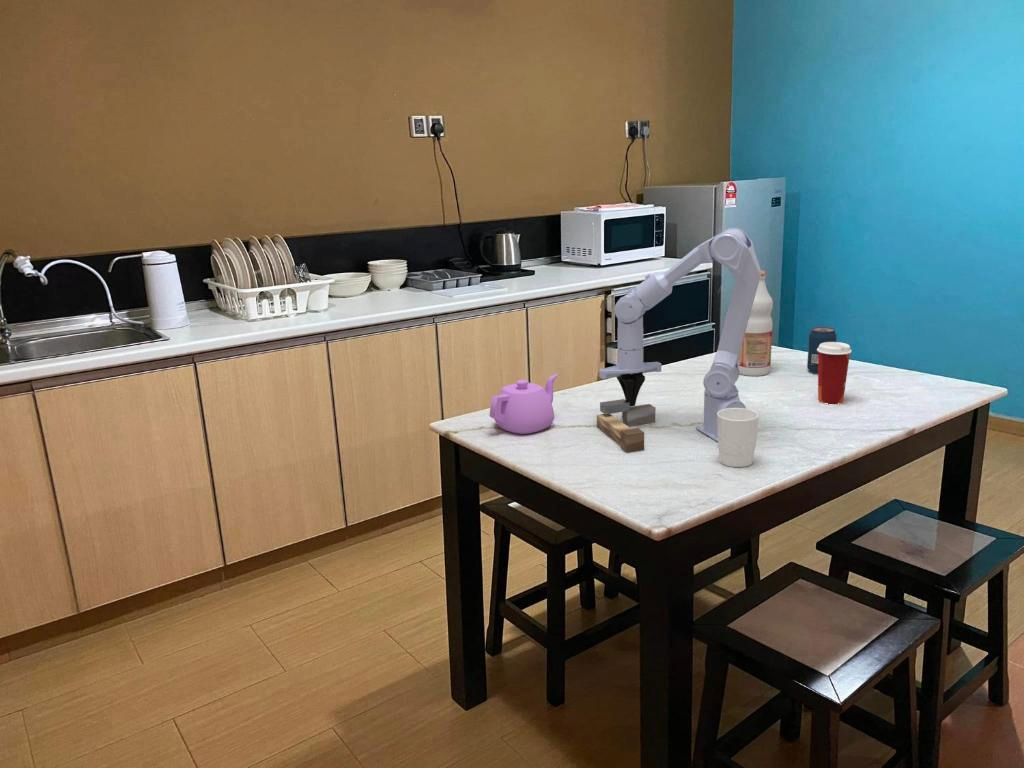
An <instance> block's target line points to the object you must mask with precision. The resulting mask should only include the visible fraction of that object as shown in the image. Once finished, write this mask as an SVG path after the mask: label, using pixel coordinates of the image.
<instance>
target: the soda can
mask: <svg viewBox="0 0 1024 768" xmlns="http://www.w3.org/2000/svg"><path fill="white" fill-rule="evenodd" d="M837 336H838V335H837V334H836V331H835V328H833V327H830V326H829V327H828V326H816V327H812V329H811V331H810V332H809V335H808V348H807V364H806V365H807V366H806V367H807V370H808V372H809V373H810V374H812V373H813V375H817V374H818V351H817V348H818V347H819V345H820V344H821V343H825V342H837Z"/></svg>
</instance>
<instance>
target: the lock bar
mask: <svg viewBox="0 0 1024 768" xmlns="http://www.w3.org/2000/svg"><path fill="white" fill-rule="evenodd" d="M599 411H600V412H601V413H602V414H605V415H606V414H611V415H612V414H618V413H622V412H626V411H630V403H629V402H628V401H626V400H625V398H622V399H621V398H620V399H613V400H607V401H601V402H599Z"/></svg>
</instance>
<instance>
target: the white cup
mask: <svg viewBox="0 0 1024 768" xmlns="http://www.w3.org/2000/svg"><path fill="white" fill-rule="evenodd" d="M759 418H760V417H759V413H758V412H757V411H755V410H752V409H749V408H746V409H744V408H727V409H723V410H720V411H718V413H717V430H718V441H717V448H718V460H719V463H721V464H723V465H724V466H727V467H733V468H745V467H749V466H751V465H753V464H754V461H755V453H756V452H755V450H756V449H757V448H756V446H757V436H758V428H759V426H758V425H759Z"/></svg>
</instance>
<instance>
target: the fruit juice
mask: <svg viewBox="0 0 1024 768" xmlns="http://www.w3.org/2000/svg"><path fill="white" fill-rule="evenodd" d="M766 277H767V272H766V270H764V269H763V270H761V277H760V281H759V284H758V288H757V291H756V295H755V299H754V302H753V306H752V310H751V313H750V317H749V321H748V324H747V328H746V332H745V335H744V339H743V342H742V346H741V350H740V356H739V361H738V368H739V375H742V376H748V377H759V376H766V375H768V374H770V372H771V365H772V364H771V362H772V344H773V343H772V342H773V318H772V316H771V315H772V310H773V306H774V301H773V298H772V296H771V295H770V293H769V291H768V289H767V285H766V280H765V279H766Z"/></svg>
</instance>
